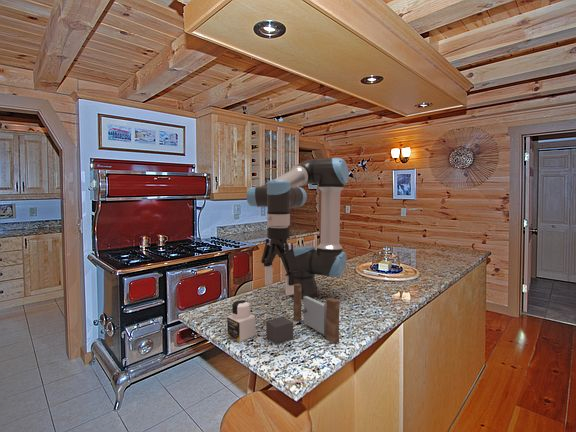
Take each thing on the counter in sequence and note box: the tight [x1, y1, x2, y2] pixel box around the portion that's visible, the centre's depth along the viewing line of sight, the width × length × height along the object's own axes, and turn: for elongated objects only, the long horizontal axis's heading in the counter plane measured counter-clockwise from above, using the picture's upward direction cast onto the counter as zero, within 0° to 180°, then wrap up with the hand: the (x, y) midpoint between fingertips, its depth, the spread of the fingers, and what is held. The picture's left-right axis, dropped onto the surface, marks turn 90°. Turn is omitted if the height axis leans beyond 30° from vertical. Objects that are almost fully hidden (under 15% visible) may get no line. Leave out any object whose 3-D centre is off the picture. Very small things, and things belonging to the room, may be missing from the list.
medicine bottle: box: [226, 299, 257, 343], centre depth 111 cm, size 7×7×12 cm
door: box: [302, 296, 327, 338], centre depth 115 cm, size 3×13×11 cm, turn 33°
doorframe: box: [293, 284, 340, 344], centre depth 116 cm, size 2×24×14 cm, turn 33°
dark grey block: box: [265, 316, 294, 346], centre depth 110 cm, size 7×6×6 cm
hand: (278, 289), depth 108 cm, fingers open, 13 cm apart
